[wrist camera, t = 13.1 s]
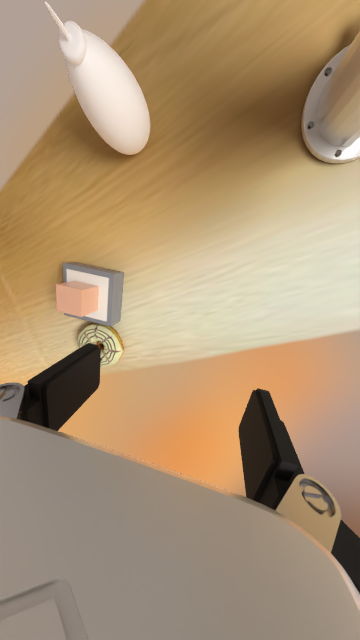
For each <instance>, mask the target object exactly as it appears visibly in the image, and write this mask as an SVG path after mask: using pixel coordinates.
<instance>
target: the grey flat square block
mask: <svg viewBox="0 0 360 640" xmlns="http://www.w3.org/2000/svg"><path fill="white" fill-rule="evenodd" d="M123 278H124V272H119V271H114V270H110V269H105V268H100V267H96V266H91V265H86V264H82V263H63V283H65V282H72V281H78V282H83V283H87V284H92V285H96V286H99V297H98V310H97V311H95V312H92V313H90V314H88V315H85V316H83V317H79V316H75V315H71V314H67V313H64V315H67V316H71V317H75V318H79V319H83V320H87V321H91V322H95V323H99V324H103V325H106V326H110V327H111V326H113V325H114V324H116V323H118V322H119V321H120V317H121V304H122V291H123Z"/></svg>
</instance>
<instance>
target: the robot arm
mask: <svg viewBox="0 0 360 640" xmlns="http://www.w3.org/2000/svg"><path fill="white" fill-rule="evenodd" d="M308 128H309V129H310V130H309V129H308ZM301 131H302V135H303V140H304V142H305V144H306V147H307V148H308V149H309V151H310V152H311V153H312V154H313V155H314V156H315V157H316V158H318V159H320V160H322V161H324V162H328V163H334V164H335V163H346V162H350V161H354V160H356V159H358V158H360V31H359V32H358V34H357V36H356V37H355V39H354V40H353V42H352V44H350V45H348V46H347V47H345V48H344V49H342V50H341V51H340V52H339V53H337V54H336V55H335V56H334V57H333V58H332V59H331V60H330V61H329V62H328V63H327V64H326V65H325V67H324V68H323V69H322V71H321V72H320V74H319V75H318V76H317V78H316V80H315V82H314V83H313V85H312V87H311V89H310V91H309V93H308V96H307V98H306V101H305V104H304V107H303V112H302V118H301ZM335 155H336V157H335ZM100 359H101V349H100V348H99V346H98V345H96V344H92V343H87V344H85V345H84V346H82V347H81V348H79V349H78V350H76V351H74V352H73V353H71V354H70V355H68V356H66V357H65V358H63V359H62V360H60V361H59V362H57V363H55V364H54V365H52V366H51V367H49V368H48V369H46V370H44V371H43V372H41V373H40V374H38V375H36V376H35V377H33V378H32V379H30V380H29V381H28V384H27V385H25V386H23V385H22V384H20V383H5V384H1V385H0V640H360V538H359V537H358V536H357V535H356V534H355V533H354V532H353V531H352V530H351V529H350V528H349V527H348V526H347V525H346V524H345V523H344V522H343V521H342V520H341V511H340V508H339V505H338V503H337V501H336V499H335V498H334V496H333V495H332V494H331V492H330V491H329V490H328V489H327V488H326V487H325V486H324V485H323V484H322V483H321V482H319V481H318V480H317V479H315V478H313V477H311V476H309V475H305V474H304V472H303V469H302V467H301V464H300V462H299V459H298V457H297V454H296V452H295V449H294V447H293V445H292V442H291V439H290V437H289V435H288V432H287V430H286V427H285V425H284V423H283V422H282V421H281V420H280V418H279V416H278V413H277V411H276V408H275V406H274V403H273V400H272V398H271V395H270V393H269V391H266V390H261V389H257V390H253V392H252V394H251V397H250V399H249V402H248V404H247V407H246V410H245V412H244V415H243V417H242V420H241V423H240V426H239V438H240V447H241V456H242V464H243V472H244V480H245V489H246V497H244V496H241V495H239V494H236V493H233V492H230V491H228V490H225V489H222V488H220V487H217V486H215V485H212V484H209V483H206V482H203V481H201V480H197V479H195V478H192V477H189V476H186V475H183V474H181V473H178V472H175V471H172V470H169V469H166V468H163V467H161V466H158V465H155V464H152V463H149V462H146V461H143V460H141V459H137V458H134V457H132V456H129V455H126V454H123V453H120V452H117V451H114V450H111V449H108V448H106V447H103V446H100V445H97V444H93V443H91V442H88V441H85V440H82V439H79V438H76V437H73V436H70V435H67V434H64V433H61V432H58V430H59V429H60V428H61V427H62V426H63V424H64V423H65V422H66V421H67V420H68V419H69V418H70V417H71V416H72V415H73V414H74V413H75V412H76V411H77V410H78V409H79V408H80V407H81V405H82V404H83V403H84V402H85V401H86V400H87V399H88V398H89V397H90V396H91V395H92V394H93V393H94V392H95V391H96V390H97V388H98V386H99V383H100Z"/></svg>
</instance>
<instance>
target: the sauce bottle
mask: <svg viewBox="0 0 360 640" xmlns="http://www.w3.org/2000/svg"><path fill="white" fill-rule="evenodd" d="M45 5H46V7H47V9H48V11H49V13H50V14H51V16H52V18H53V19H54V21H55V22H56V24H57V25H58V27H59V29H60V33H59V45H60V49H61V51H62V53H63V55H64V57H65V62H66V67H67V71H68V75H69V78H70V81H71V84H72V87H73V89H74V92H75V94H76V97H77V99H78V101H79V103H80V105H81V107H82V109H83V111H84V113H85V115H86V116H87V118H88V120H89V121H90V123H91V125H92V126H93V127H94V129H95V130H96V131H97V133H98V134H99V135H100V136H101V137H102V139H103V140H104V141H105V142H106V143H107V144H109V145H110V146H111V147H112V148H113V149H115V150H117V151H118V152H120V153H123V154H127V155H134V154H136V153H139V152H140V151H141V150H142V149H143V148H144V147H145V145H146V144H147V141H148V138H149V134H150V116H149V111H148V107H147V104H146V101H145V98H144V95H143V93H142V90H141V88H140V86H139V84H138V83H137V81H136V79H135V77H134V75H133V74H132V72H131V71H130V69H129V68H128V66H127V65H126V64H125V62H124V61H123V60H122V59H121V57H120V56H119V55H118V54H117V53H116V52H115V51H114V50H113V49H112V48H111V47H110V46H109V45H108V44H107V43H105V42H104V41H103V40H102V39H100V38H99V37H98V36H96V35H94V34H93V33H90V32H89V31H86V30H83V29H81V28H80V27H79V26H78V25H77V24H76V23H75V22H73V21H67V22H65V23H64V24H63V23H62V22H61V20H60V19H59V18H58V16H57V15H56V14H55V12H54V11H53V9H52V8H51V7H50V6H49V4H48V3H47V2H45Z"/></svg>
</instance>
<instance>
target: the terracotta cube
mask: <svg viewBox="0 0 360 640" xmlns="http://www.w3.org/2000/svg"><path fill="white" fill-rule="evenodd" d="M98 297H99V286H96V285H92V284H87V283H83V282H78V281H72V282H65V283H59V284H56V304H57V311H59V312H63V313H67V314H71V315H75V316H79V317H83V316H85V315H88V314H90V313H92V312H95V311H97V310H98Z"/></svg>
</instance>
